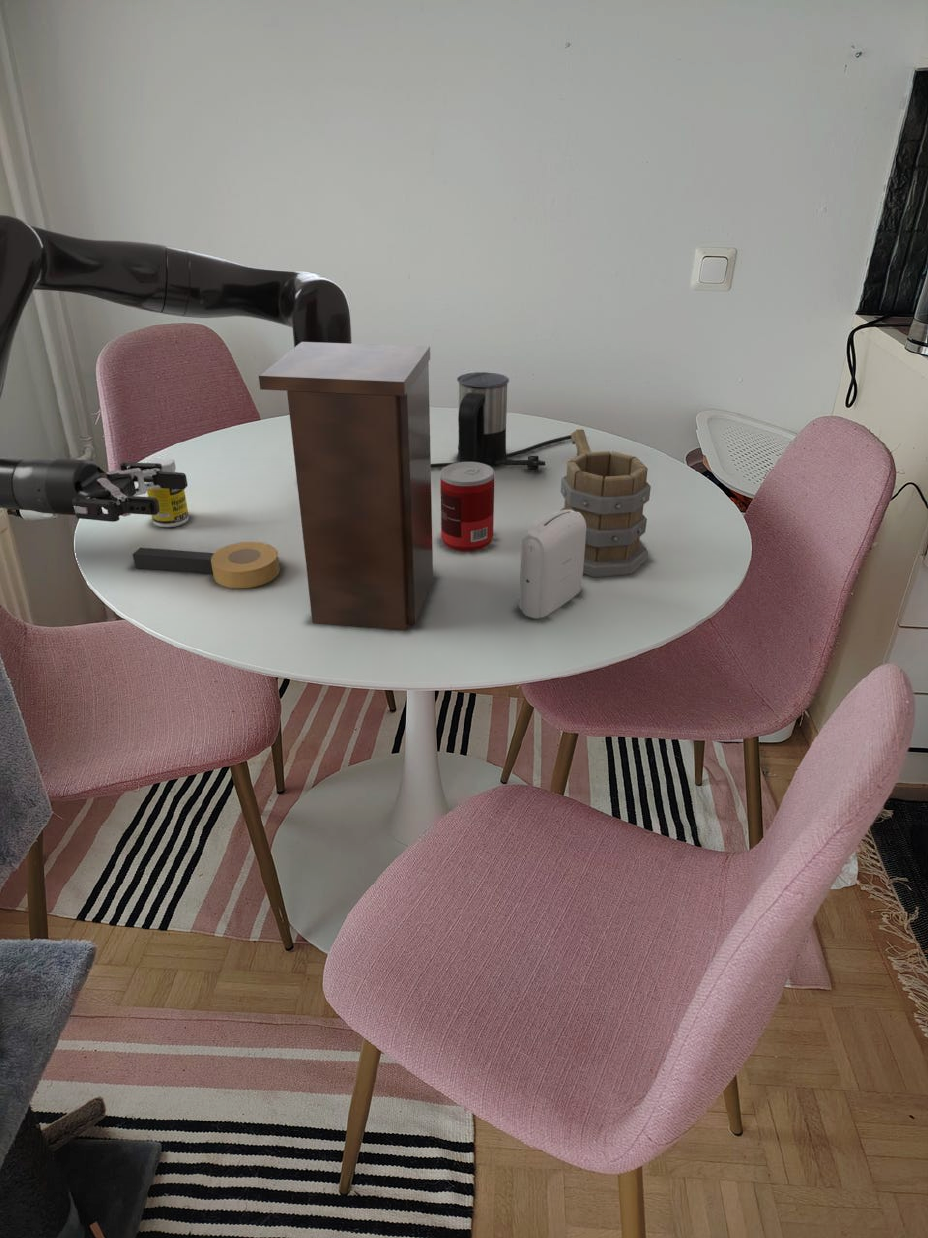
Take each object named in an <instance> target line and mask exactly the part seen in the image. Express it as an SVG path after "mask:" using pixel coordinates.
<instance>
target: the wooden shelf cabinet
mask: <svg viewBox="0 0 928 1238" xmlns="http://www.w3.org/2000/svg"><path fill="white" fill-rule="evenodd" d="M430 360H431V346H421V345H396V344H367V343H352V344H346V343H320V342H301V343H300V344H298V345H297V346H296V347H294V346H293V348H292V349H291V350H289V351H288V352H287V353H285V354H284V355H282V356H281V357H280V358H279V359H278V360H277V361H275V362H274V363H273V364H272V365H271V366H269V367H268V368H267V369H265V370H264V371H263V372H261V373H260V374H259V375H258V384H259V389H260V390H262V391H263V390H264V391H266V390H267V391H285V392H286V394H287V403H288V404H287V405H288V413H289V422H290V423H289V424H290V431H291V441H292V449H293V459H294V465H295V466H294V467H295V477H296V485H297V486H296V487H297V494H298V504H299V513H300V522H301V531H302V539H303V549H304V559H305V567H306V577H307V585H308V595H309V596H308V597H309V603H310V605H309V606H310V613H311V622H312V624H323V625H335V626H347V627H359V628H360V627H361V628H372V629H373V628H374V629H386V630H397V631H406V630H407V628H408V626H411V627H412V626H413V627H415V626H416V625H417V622H418V619H419V616H420V614H421V612H422V609H423V607H424V603H425V601H426V598H427V596H428V593H429V590H430V589H431V588H430V587H431V585H432V582H433V580H434V551H433V548H434V547H433V545H434V544H433V507H432V505H433V503H432V499H433V498H432V468H431V464H432V459H431V455H432V454H431V417H430V415H431V411H430V409H431V408H430V370H429V369H430V368H429V367H430V366H429V362H430Z"/></svg>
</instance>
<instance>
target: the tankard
mask: <svg viewBox="0 0 928 1238" xmlns="http://www.w3.org/2000/svg"><path fill="white" fill-rule="evenodd" d="M570 435H571V439H570V440H571V444H572V445H575V448H576V456H575V457H573V458H571V459H570V460H569V461H567V462H566V475H564V476H562V478H561V481H560V494H561V495H562V497H563V498H564V506H563V508H561V509H560V510H559V511H562V510H573V511H575V512H580V513H581V514H582V516H583V517H584V519H585V522H586V540H585V554H584V566H583V575H586V576H589V577H592V578H600V577H601V578H603V577H613V576H614V577H615V576H628V575H631V574H633V572H635V571H636V570H637V569H638V568H639V567H640V566H641V565H643V564H644V563H645V562H646V561H647V560H648V556H649V550H648V549H647V548H646V546H645V545H644V544H643V542H642V541H641V540H640V539H641V537H642V536H643V535H644V534H645V533H646V529H647V523H648V522H647V521H648V518H647V517H646V516H645V514H643V513H644V506H645V504H647V503H648V502H649V501H650V497H651V489H652V486H651V485H650V483H649V482H648V481H647V480H648V471H649V469H648V467H647V466H646V465H645V464H644V463H643V461H641V460H640V458H639V457H637V456H635V455H630V454H626V453H621V452H617V451H611V452H610V450H603V451H591V448H590V445H589V443H588V439H587V435H586V432H585V430H584V429H582V428H581V429H576V430H574V431H573V432H571V434H570Z"/></svg>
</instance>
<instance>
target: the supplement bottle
mask: <svg viewBox="0 0 928 1238" xmlns="http://www.w3.org/2000/svg"><path fill="white" fill-rule="evenodd" d="M146 463H159V464H161V465H162V471H163V472H177V468H176V467H177V466H176V462H175V458H172V457H169V456H159V457H153V458H151V459H149V460H147V462H146ZM147 470H149V469H147ZM151 476H152V475H151ZM147 483H153V482H145V484H147ZM146 494H147V497H154V498H156V499H157V500H158V503H159V508H160V512H159V513H158V514H157V515H151V519H152V523H153V524H154V525H155V526H157V527H162V528H173V527H179V526H182V525H183V524H185V523H187V522H188V520H189V518H190V517H189V510H188V504H187V498H186V491H185V489H167V488H161V487H160V488H155V489H150V490H147V492H146Z"/></svg>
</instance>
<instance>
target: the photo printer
mask: <svg viewBox="0 0 928 1238" xmlns="http://www.w3.org/2000/svg"><path fill="white" fill-rule="evenodd" d="M585 540H586V522H585V519H584V517H583V516H582V514H581V513H580V512H575V511H573V510H562V511H560V510H557V511H555V512H553V513H550V514H548V515H546V516H545V517H543V518H542V519H541V520H539V521H538V522H537V523H536V524H534V525H533V526H532V527H531V528H530V529H529V530H528V532H526V534H525V535H524V537H523V539H522V541H521V545H520V571H519V573H520V575H519V599H518V600H519V602H518V605H519V606H518V607H519V609H520V610H521V613H522V614H523V615H525V616H526V617H527V618H531V619H537V620H539V619H543V618H545V617H547V616H550V614H551V613H553V612H555V611H556V610H558V609H559V608H561V607H563V606H564V605H565V604H566V603H568V602H569V601H571V600H572V599H573V598H574V597H576V596H577V595H578V594H579V593H580V592H581V590H582V587H583V579H584V578H583V577H584V574H583V566H584V554H585Z"/></svg>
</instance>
